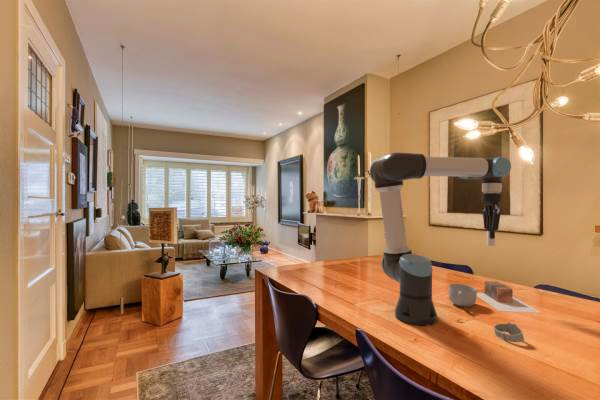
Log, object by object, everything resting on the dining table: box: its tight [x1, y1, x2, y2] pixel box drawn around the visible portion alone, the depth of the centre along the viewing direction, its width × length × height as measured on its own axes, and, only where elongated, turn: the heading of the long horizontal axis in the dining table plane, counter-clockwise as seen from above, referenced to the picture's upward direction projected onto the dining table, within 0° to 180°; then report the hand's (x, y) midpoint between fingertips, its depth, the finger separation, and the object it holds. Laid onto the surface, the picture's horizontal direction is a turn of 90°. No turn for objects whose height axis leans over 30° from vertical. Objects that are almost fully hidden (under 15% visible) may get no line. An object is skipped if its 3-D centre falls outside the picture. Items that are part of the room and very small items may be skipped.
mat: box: [476, 292, 542, 314], centre depth 133 cm, size 24×16×1 cm, turn 173°
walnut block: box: [484, 280, 514, 303], centre depth 138 cm, size 6×6×12 cm
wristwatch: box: [493, 321, 525, 343], centre depth 99 cm, size 9×6×5 cm
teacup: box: [448, 283, 478, 308], centre depth 129 cm, size 14×11×8 cm
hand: (490, 245), depth 135 cm, fingers closed
